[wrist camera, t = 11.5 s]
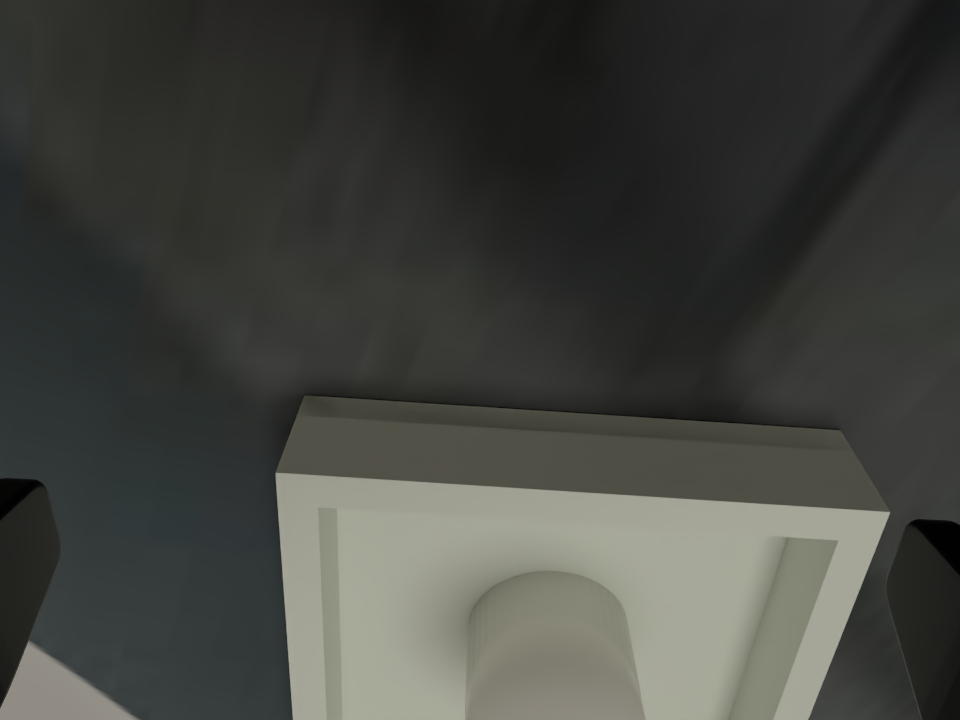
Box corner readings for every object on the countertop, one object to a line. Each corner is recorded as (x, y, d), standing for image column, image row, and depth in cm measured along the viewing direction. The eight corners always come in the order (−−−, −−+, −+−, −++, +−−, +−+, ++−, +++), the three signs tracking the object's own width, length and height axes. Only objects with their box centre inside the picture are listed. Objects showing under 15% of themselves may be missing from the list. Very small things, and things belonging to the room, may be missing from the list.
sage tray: (840, 430, 24) (890, 512, 21) (727, 764, 31) (752, 860, 28) (304, 395, 23) (275, 472, 20) (320, 740, 31) (301, 834, 28)
